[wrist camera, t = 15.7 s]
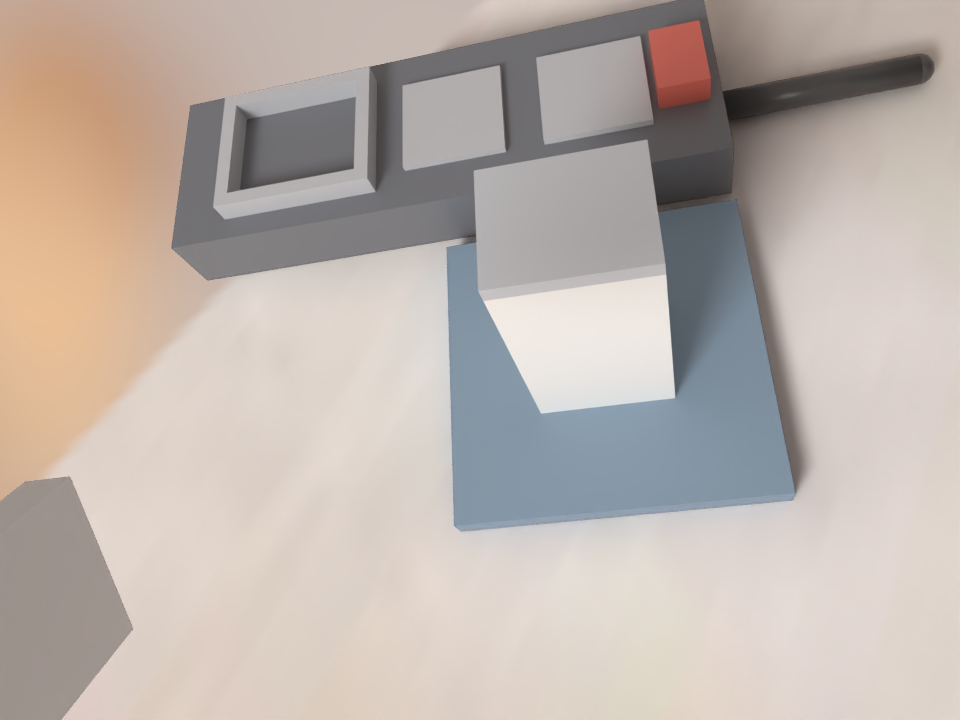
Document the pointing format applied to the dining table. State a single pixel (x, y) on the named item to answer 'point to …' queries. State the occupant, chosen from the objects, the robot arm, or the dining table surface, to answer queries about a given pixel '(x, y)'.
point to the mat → (626, 427)
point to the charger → (577, 276)
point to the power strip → (468, 135)
